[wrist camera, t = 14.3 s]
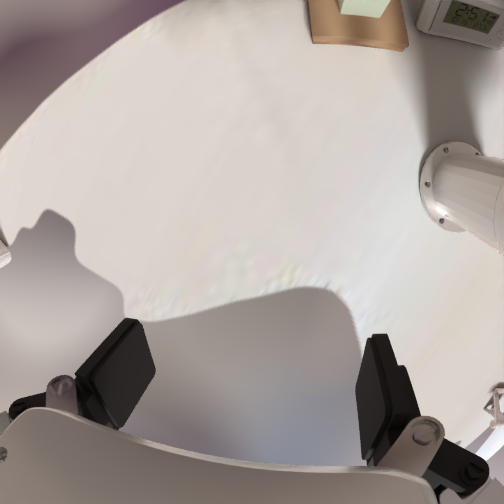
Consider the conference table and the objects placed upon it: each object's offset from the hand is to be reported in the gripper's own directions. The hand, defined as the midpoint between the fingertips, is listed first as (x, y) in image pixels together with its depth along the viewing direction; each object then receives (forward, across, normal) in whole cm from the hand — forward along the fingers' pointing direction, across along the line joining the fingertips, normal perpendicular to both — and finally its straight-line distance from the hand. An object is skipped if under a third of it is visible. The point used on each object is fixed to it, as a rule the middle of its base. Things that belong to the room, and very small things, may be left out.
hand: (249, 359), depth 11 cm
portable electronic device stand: (+29, -54, +43) cm, 75 cm away
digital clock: (+29, -26, -29) cm, 48 cm away
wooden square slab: (+28, -10, -28) cm, 41 cm away
